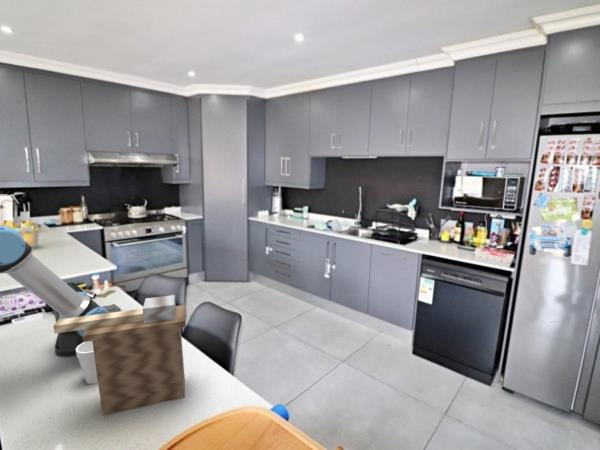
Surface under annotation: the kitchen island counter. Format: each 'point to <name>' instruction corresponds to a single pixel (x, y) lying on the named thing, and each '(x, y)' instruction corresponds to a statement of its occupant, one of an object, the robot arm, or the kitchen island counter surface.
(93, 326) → the mallet
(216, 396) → the kitchen island counter surface
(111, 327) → the walnut stand
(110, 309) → the soap mold
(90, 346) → the foam cup
